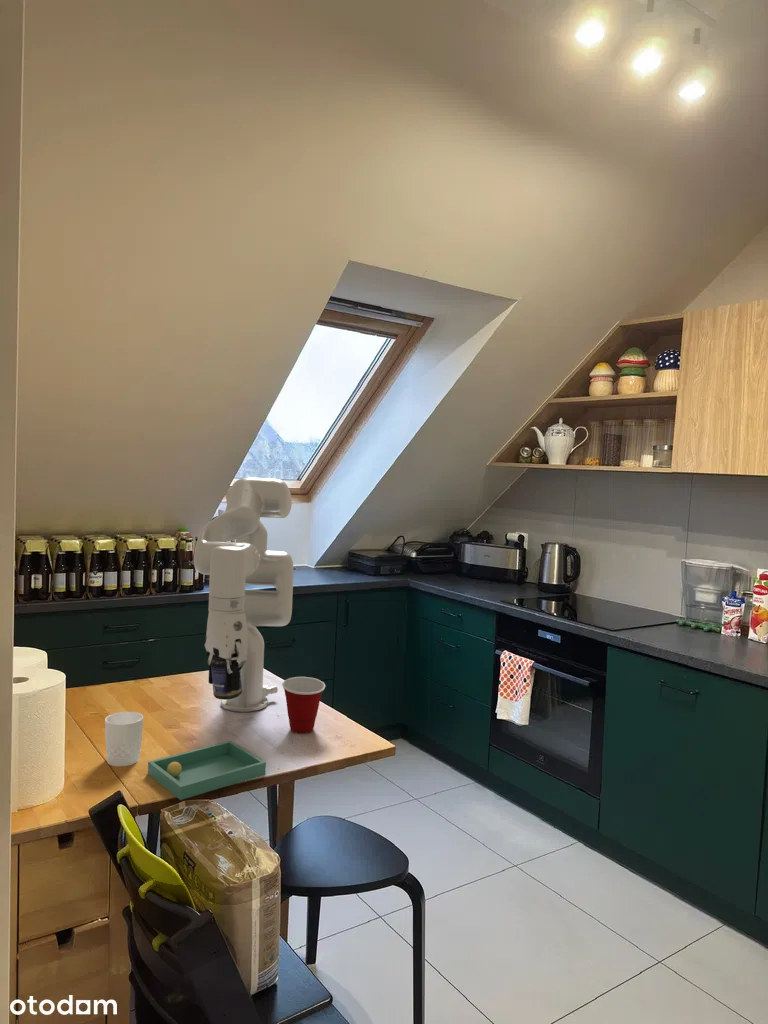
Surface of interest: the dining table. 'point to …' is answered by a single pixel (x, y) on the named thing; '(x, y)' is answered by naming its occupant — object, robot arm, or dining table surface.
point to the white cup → (123, 738)
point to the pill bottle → (222, 677)
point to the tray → (207, 769)
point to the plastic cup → (302, 702)
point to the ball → (174, 769)
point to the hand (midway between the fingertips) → (223, 685)
